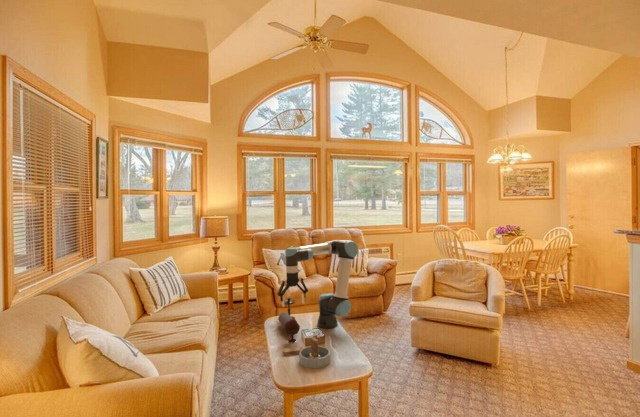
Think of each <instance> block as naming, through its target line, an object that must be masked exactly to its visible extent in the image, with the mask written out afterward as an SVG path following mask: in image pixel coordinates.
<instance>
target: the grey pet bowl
mask: <svg viewBox="0 0 640 417" xmlns="http://www.w3.org/2000/svg"><path fill="white" fill-rule="evenodd" d="M298 355H299V357H298V358H299V364H300V365H301V366H302V367H304V368H307V369H319V368H320V369H321V368H323V367H327V365H329V364H330V363H331V350H330V349H329V348H328V347H326V346H322V345H318V355H319V357H315V358H314V357H313V356H312V355H311V345H310V346H306V347H303V349H302V350H300V353H299V354H298Z"/></svg>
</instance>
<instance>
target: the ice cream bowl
mask: <svg viewBox="0 0 640 417" xmlns="http://www.w3.org/2000/svg"><path fill="white" fill-rule="evenodd" d="M300 329H301V326H300V324H299V323H298V321H297V320H296V318H295V319H291V320H290V321H287V322H286V324H285V326H284V328H283V330H284V332H285V333H286V334H287V335H288V336H290V338H289V339H288V341H289V342H288V343H290V342H293V343H296V342H297V341H296V340H297V338H294V336H295V335H297V334H298V333H299V331H300ZM295 341H296V342H295Z"/></svg>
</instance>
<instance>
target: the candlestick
mask: <svg viewBox="0 0 640 417" xmlns="http://www.w3.org/2000/svg"><path fill="white" fill-rule="evenodd" d="M290 290H291V289H290V287H289V288H288V289H287V291H286V292H287V293H286V295H287V297H286V298H285V299H284V306H287V314H288V315H290V316H291V314H292V312H291V311H292V310H291V305H294V304H296V300H295V299H293V298H292V297H291V294H290V292H291V291H290ZM291 317H292V319H295V320H296V317H295V316H293V315H292V316H291Z"/></svg>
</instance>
